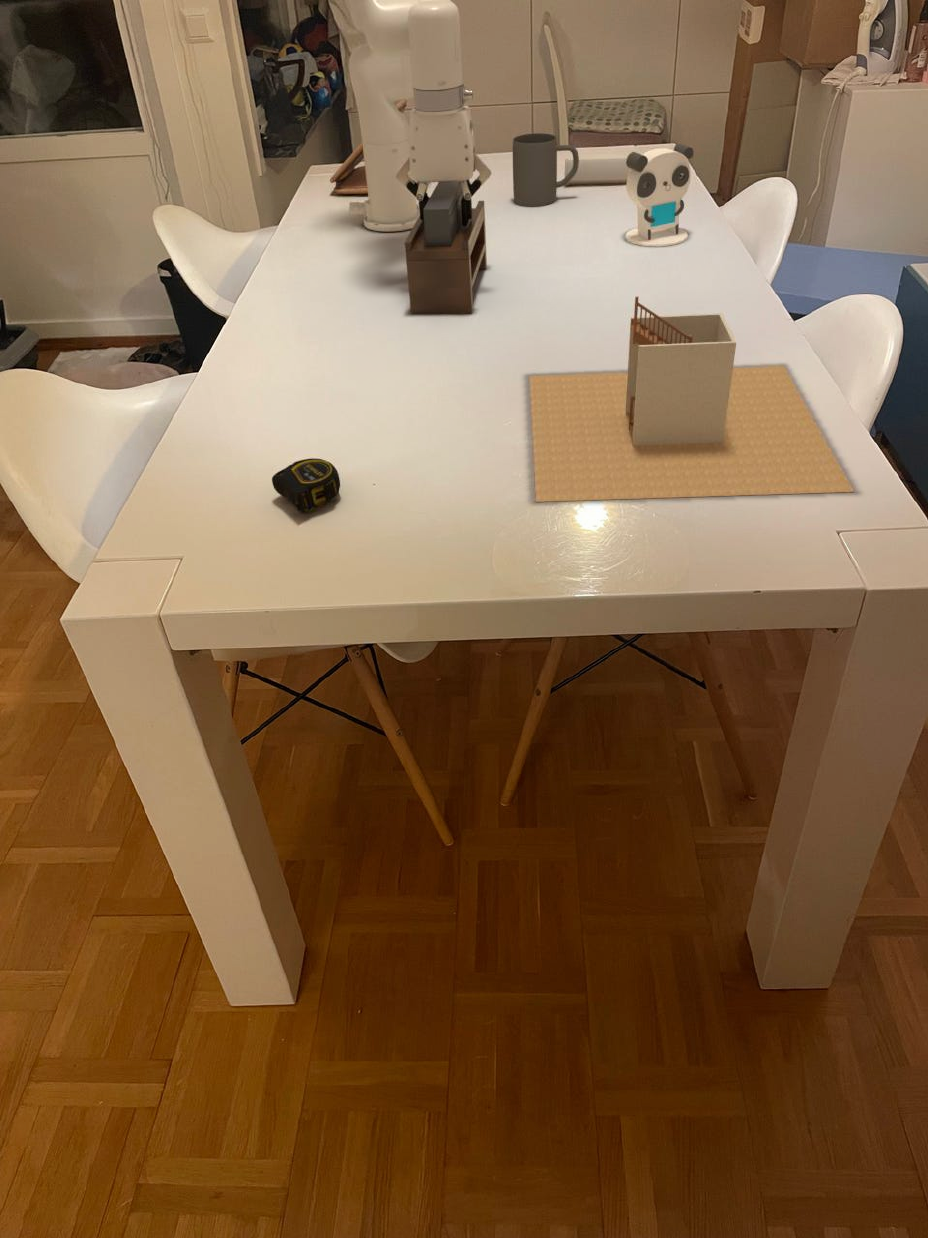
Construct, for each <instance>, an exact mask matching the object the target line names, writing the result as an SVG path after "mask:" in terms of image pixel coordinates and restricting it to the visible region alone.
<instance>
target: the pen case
mask: <svg viewBox="0 0 928 1238" xmlns="http://www.w3.org/2000/svg"><path fill="white" fill-rule="evenodd" d="M462 198H463V193H462V191H461V188H460V186H459V183H458V181H456V182H437V183H436V186H435V188H434V190H433V191H432V193H431V194H430V199H429V200H428V202H427V204H426V206H425V208H424V209H423V212H424V224H425V237H426V246H451V245H452V243H453V241H454V238H455V236H456V234H457V231H458V229H459V227H460V224H461V222H462V212H461V200H462Z"/></svg>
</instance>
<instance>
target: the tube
mask: <svg viewBox="0 0 928 1238" xmlns="http://www.w3.org/2000/svg"><path fill="white" fill-rule="evenodd" d="M626 161H627V157H625V158H623V157H622V158H589V159H587V158H586V159H579V164H578V169H577V172H576V174H575V175H574V176H573V178H572V179H571V180H570V181H569V182H568V183H567V184H565V185H564V186H566V187H567V186H569V185H603V184H604V185H605V184H608V185H609V184H627V179H628V175H629V173H630V170H631V168H629V167H627V165H626ZM572 168H573V159H569V158H565V159H564V178H565V177H566V176H567V175H568V174H569V173H570V171H571V170H572Z"/></svg>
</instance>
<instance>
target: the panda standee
mask: <svg viewBox="0 0 928 1238" xmlns="http://www.w3.org/2000/svg"><path fill="white" fill-rule="evenodd" d="M626 158H627V161H626V165H627V167H629V168H631V170H630V173H629V175H628V179H627V183H626V193H627V195H628V197H629V199H630V200H631V201H632V202H633V203H634V204H635V205H636V207H637V209H636V211H637V212H636V213H637V227H634V228H632V229H630V230H628V231H627V232H626V233H625V239H626V241H628V242H629V243H631V244H632V245H633V244H634V245H637V246H643V247H655V248H656V247H657V248H658V247H669V246H674V245H678V244H680V243H683V242H685V241H686V240H687V239H688V232H687V231H686V230H684V229H682V228H681V227H679V225H680V214H681V213H682V212H683V210H684V209H685V202H684V200H683V198H684V197H685V195H686V194H687V192H688V189H689V188H690V184H691V177H692V176H691V173H692V172H691V165H690V161H689V160H690V159H692V158H694V148H693V147H690V146H687V145H685V144H683V143H677V144H675V145H674V147H673V149H670V148H667V147H661V148H659V147H658V148H654V149H651V150H647V151H646V152H644V153H642V154H641V153H638V152H636V151H632V152H630V153H629V154H628V156H627V157H626Z"/></svg>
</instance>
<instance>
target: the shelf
mask: <svg viewBox="0 0 928 1238" xmlns="http://www.w3.org/2000/svg"><path fill="white" fill-rule="evenodd" d="M485 209H486V207H485V200H478V201H477V204H476V207H472V219H469V222H468V224H467V226H463V225H462V222H461V224H460V227H459V229H458V231H457V234H456V236H455V238H454V241H453V243H452V245H451V246H426V237H425V227H424V220H421V219H420V216H419V218H418V219H417V221H416V223H415V225H414V227H413V228H412V229H410V232H409V233H408V236H407V237H406V240H405V241H404V242H403V243H404V244H403V245H404V252H405V253H404V255H405V264H406V274H407V275H406V276H407V283H408V284H407V285H408V294H409V295H408V296H409V305H410V306H409V307H410V314H411V315H412V314H413V315H414V314H415V315H416V314H417V315H418V314H419V315H420V314H423V315H427V314H429V315H431V314H437V315H438V314H439V315H440V314H473V311H474V301H473V287H474V284H475V281H476V278H477V275H478V272H479V270H487V268H488V261H487V260H488V257H487V238H486V237H487V233H486V231H487V230H486V212H485V211H486V210H485Z"/></svg>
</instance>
